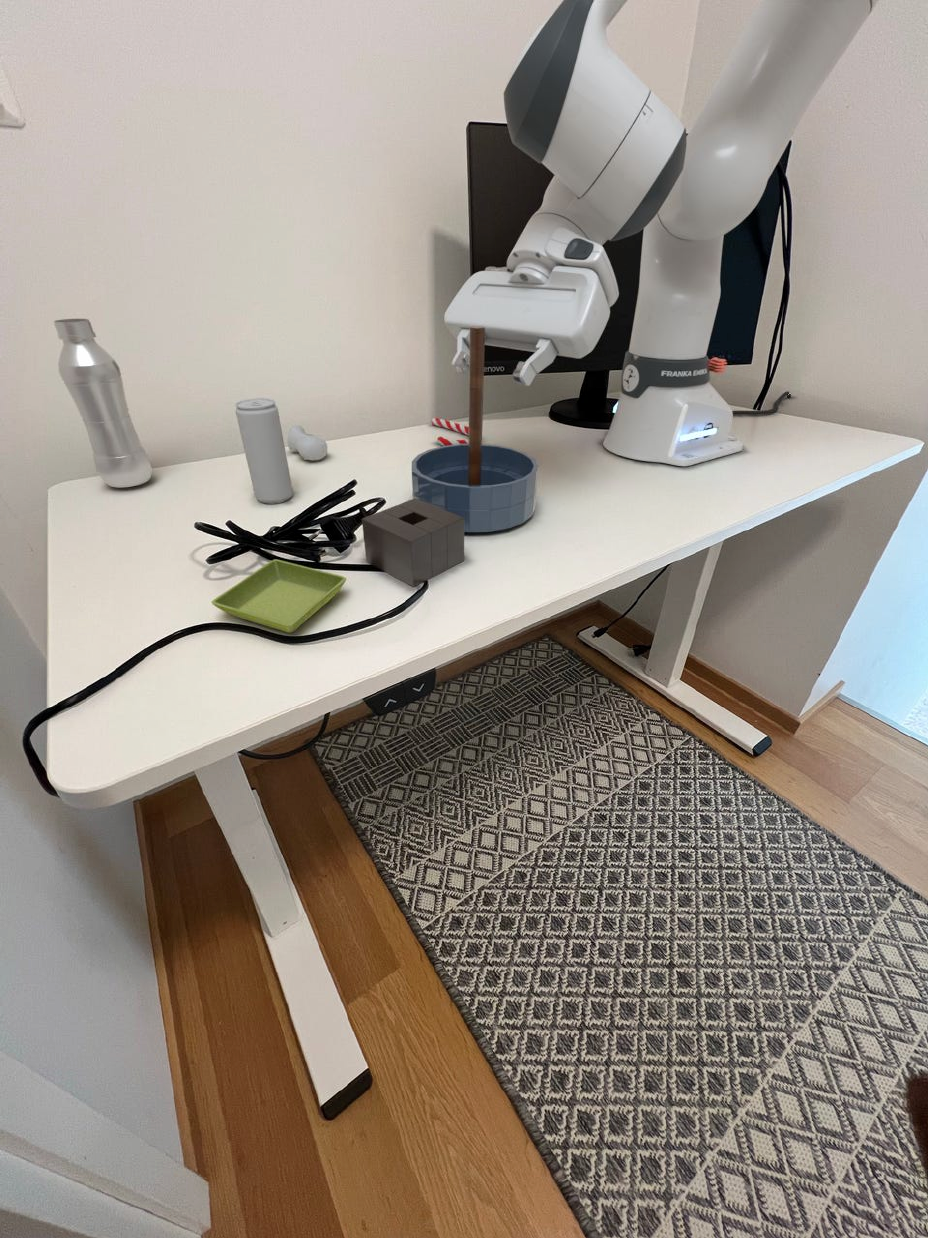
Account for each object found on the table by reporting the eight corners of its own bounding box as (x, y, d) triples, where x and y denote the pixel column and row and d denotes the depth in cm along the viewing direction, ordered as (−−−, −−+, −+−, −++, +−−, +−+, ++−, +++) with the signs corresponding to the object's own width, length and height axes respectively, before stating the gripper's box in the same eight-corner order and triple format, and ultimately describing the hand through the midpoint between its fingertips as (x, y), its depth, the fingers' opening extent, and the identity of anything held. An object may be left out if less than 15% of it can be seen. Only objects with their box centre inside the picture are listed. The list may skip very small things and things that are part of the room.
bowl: (502, 480, 77) (504, 438, 73) (556, 524, 65) (561, 476, 62) (399, 496, 72) (396, 451, 69) (437, 546, 61) (436, 495, 57)
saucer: (351, 595, 52) (348, 576, 51) (294, 646, 46) (289, 626, 45) (278, 576, 55) (274, 558, 54) (214, 621, 49) (208, 602, 47)
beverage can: (257, 507, 69) (234, 409, 62) (254, 493, 73) (232, 399, 66) (296, 501, 70) (278, 405, 63) (291, 488, 74) (274, 396, 67)
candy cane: (449, 414, 100) (490, 436, 89) (449, 421, 101) (490, 444, 90) (410, 420, 97) (448, 443, 86) (410, 427, 98) (448, 451, 87)
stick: (477, 502, 69) (481, 325, 58) (482, 506, 68) (487, 327, 57) (465, 503, 69) (467, 326, 57) (470, 508, 68) (473, 328, 56)
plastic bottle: (129, 473, 78) (72, 315, 67) (167, 479, 77) (116, 318, 65) (92, 489, 73) (23, 322, 62) (132, 496, 72) (69, 325, 60)
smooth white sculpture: (332, 468, 84) (300, 464, 81) (312, 452, 89) (281, 448, 86) (336, 440, 82) (304, 435, 79) (316, 426, 87) (285, 421, 84)
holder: (417, 538, 62) (415, 497, 59) (464, 560, 58) (464, 517, 55) (366, 561, 58) (361, 518, 55) (413, 587, 54) (411, 542, 51)
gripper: (467, 245, 65) (411, 346, 65) (617, 246, 53) (548, 368, 53) (491, 287, 70) (439, 380, 70) (632, 295, 59) (570, 407, 59)
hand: (487, 375), depth 62 cm, fingers open, 8 cm apart
